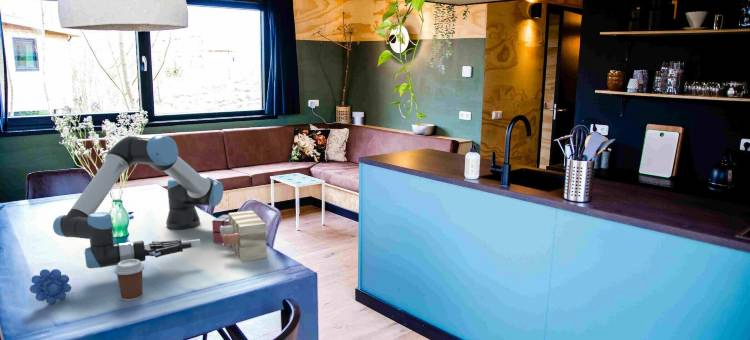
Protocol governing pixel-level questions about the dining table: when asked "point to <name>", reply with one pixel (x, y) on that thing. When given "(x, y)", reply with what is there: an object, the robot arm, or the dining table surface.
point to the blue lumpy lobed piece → (50, 286)
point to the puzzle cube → (216, 224)
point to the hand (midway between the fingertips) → (199, 242)
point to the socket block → (249, 235)
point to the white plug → (226, 230)
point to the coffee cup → (130, 279)
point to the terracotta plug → (230, 239)
